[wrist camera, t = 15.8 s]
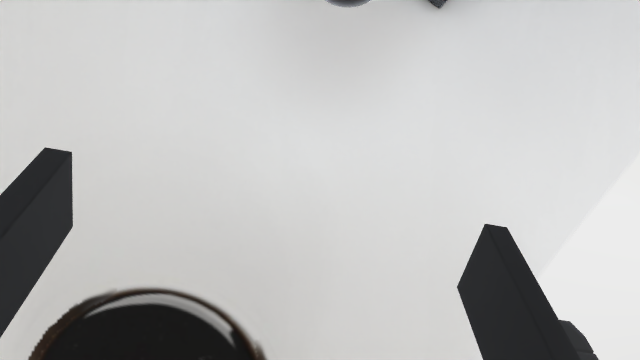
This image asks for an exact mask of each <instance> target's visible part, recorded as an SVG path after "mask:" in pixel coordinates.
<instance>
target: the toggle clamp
mask: <svg viewBox="0 0 640 360" xmlns="http://www.w3.org/2000/svg"><path fill="white" fill-rule="evenodd" d="M429 1H430V2H431V3H433V4H434V5H435V6H436V7H438V8H441V7H442V6H443V5H444V4H445V2H446V1H447V0H429Z"/></svg>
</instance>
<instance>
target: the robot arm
mask: <svg viewBox="0 0 640 360" xmlns="http://www.w3.org/2000/svg"><path fill="white" fill-rule="evenodd" d="M72 227H73V210H72V152H68V151H63V150H57V149H51V148H44V149H43V150H42V151H41V152H40V153H39V154H38V156H37V157H36V158H35V159H34V160H33V161H32V162H31V163H30V164H29V165H28V166H27V167H26V168H25V169H24V170H23V172H22V173H21V174H20V175H19V176H18V177H17V178H16V179H15V180H14V181H13V182H12V183H11V184H10V185H9V186H8V188H7V189H6V190H5V191H4V192H3V193H2V194H1V195H0V337H1V336H2V334H3V333H4V331H5V330H6V328H7V327H8V325H9V324H10V322H11V321H12V319H13V318H14V316H15V314H16V313H17V311H18V310H19V308H20V307H21V305H22V304H23V302H24V301H25V299H26V298H27V296H28V295H29V293H30V291H31V290H32V288H33V287H34V285H35V284H36V282H37V281H38V279H39V278H40V276H41V275H42V273H43V272H44V270H45V268H46V267H47V265H48V264H49V262H50V261H51V259H52V258H53V256H54V255H55V253H56V252H57V250H58V249H59V247H60V245H61V244H62V242H63V241H64V239H65V238H66V236H67V235H68V233H69V232H70V230H71V229H72ZM457 288H458V291H459V294H460V297H461V299H462V302H463V305H464V308H465V311H466V313H467V316H468V319H469V322H470V324H471V327H472V330H473V333H474V335H475V338H476V341H477V344H478V346H479V349H480V352H481V355H482V358H483V360H598V358H597V356H596V355H595V354H593V350H592V348H591V346H590V345H589V343H588V341H587V339H586V338H585V336H584V335H583V334H582V333H581V332H580V331H579V330H578V329H577V328H576V327H575V326H574V325H573V324H572V323H571V322H569V321H562V320H558V318H557V316H556V314H555V313H554V311H553V309H552V307H551V305H550V304H549V302H548V300H547V298H546V296H545V295H544V293H543V291H542V289H541V287H540V286H539V284H538V282H537V280H536V279H535V277H534V275H533V273H532V271H531V270H530V268H529V266H528V264H527V263H526V261H525V259H524V257H523V255H522V254H521V252H520V250H519V248H518V246H517V245H516V243H515V241H514V239H513V238H512V236H511V234H510V232H509V230H508V229H507V227H501V226H495V225H489V224H485V225H484V227H483V230H482V232H481V234H480V236H479V239H478V241H477V243H476V245H475V248H474V250H473V252H472V254H471V257H470V259H469V261H468V263H467V266H466V268H465V270H464V272H463V275H462V277H461V279H460V281H459V284H458V286H457Z"/></svg>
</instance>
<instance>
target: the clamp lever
mask: <svg viewBox="0 0 640 360" xmlns="http://www.w3.org/2000/svg"><path fill="white" fill-rule="evenodd" d="M325 1H327V2H328V3H331V4H333V5H336V6H340V7H356V6H360V5H363V4H365V3H367V2H369V1H371V0H325Z"/></svg>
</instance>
